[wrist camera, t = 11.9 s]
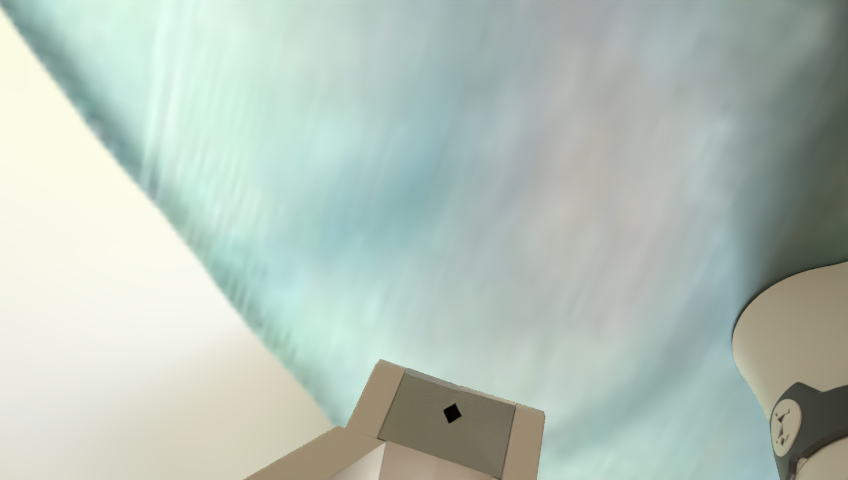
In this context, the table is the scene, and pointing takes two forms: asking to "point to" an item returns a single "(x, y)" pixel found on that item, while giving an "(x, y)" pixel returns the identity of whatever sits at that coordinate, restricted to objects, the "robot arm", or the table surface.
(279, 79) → the table surface
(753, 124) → the table surface
